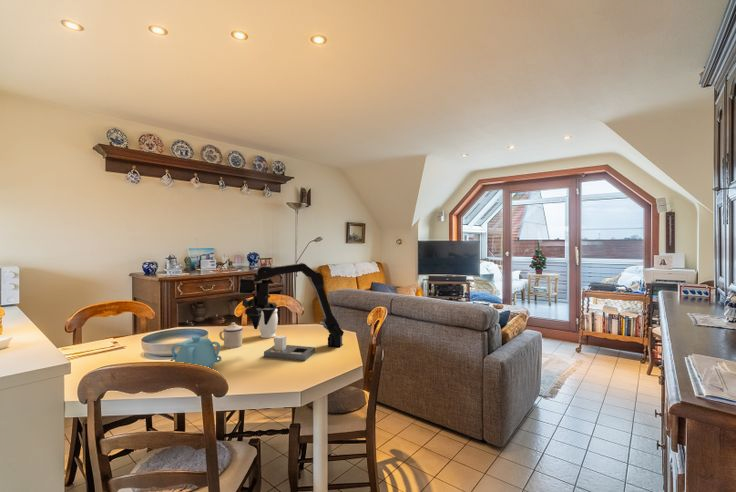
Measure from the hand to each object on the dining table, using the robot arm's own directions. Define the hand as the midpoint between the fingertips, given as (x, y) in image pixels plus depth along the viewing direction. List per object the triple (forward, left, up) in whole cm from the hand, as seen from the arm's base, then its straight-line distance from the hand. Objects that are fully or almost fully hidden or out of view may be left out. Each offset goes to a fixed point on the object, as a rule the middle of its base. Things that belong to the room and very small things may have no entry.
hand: (260, 326), depth 159 cm
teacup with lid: (+23, -10, -14) cm, 28 cm away
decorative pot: (+17, +22, -14) cm, 31 cm away
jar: (+13, -30, -14) cm, 35 cm away
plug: (-8, -3, -13) cm, 16 cm away
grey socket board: (-13, -3, -14) cm, 19 cm away
